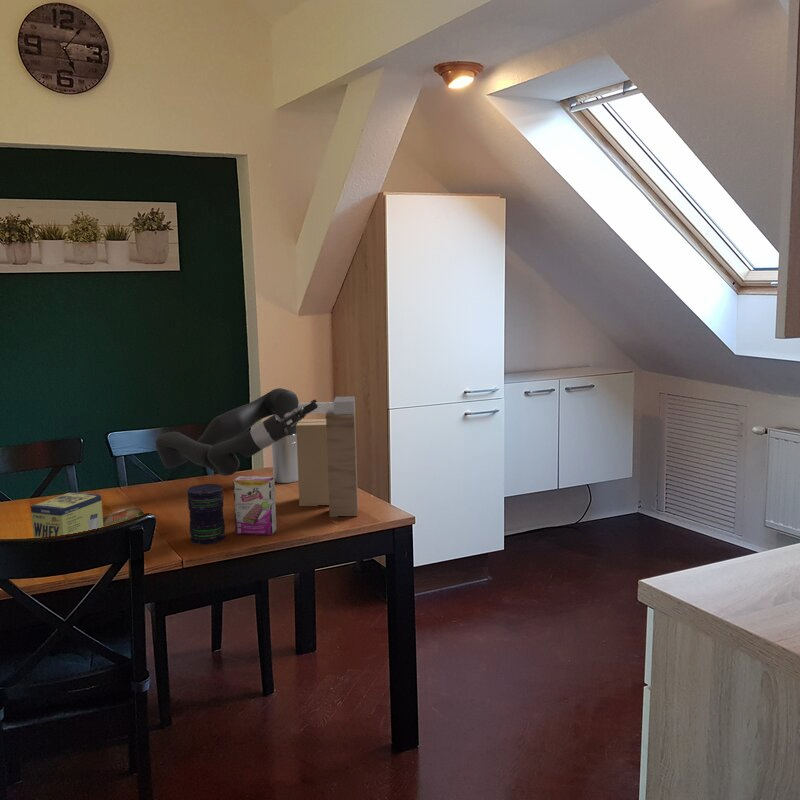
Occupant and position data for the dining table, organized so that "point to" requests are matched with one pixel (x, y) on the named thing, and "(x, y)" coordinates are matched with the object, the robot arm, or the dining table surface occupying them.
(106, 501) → the dining table surface
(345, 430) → the tall wooden plank
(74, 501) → the protein box
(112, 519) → the tin
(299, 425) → the cardboard box
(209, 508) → the storage jar
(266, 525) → the candy bar box
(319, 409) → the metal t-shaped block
